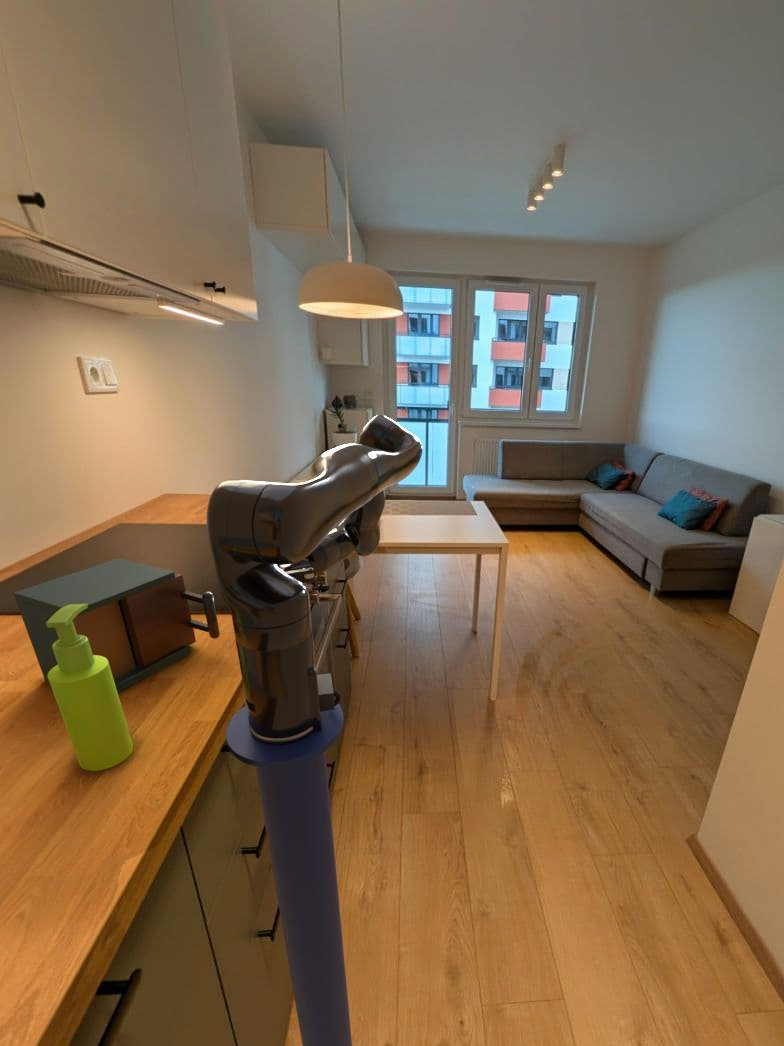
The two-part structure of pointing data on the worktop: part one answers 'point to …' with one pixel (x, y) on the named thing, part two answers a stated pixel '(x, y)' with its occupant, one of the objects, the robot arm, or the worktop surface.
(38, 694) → the worktop surface
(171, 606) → the sliding door
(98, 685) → the soap dispenser
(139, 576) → the cabinet
